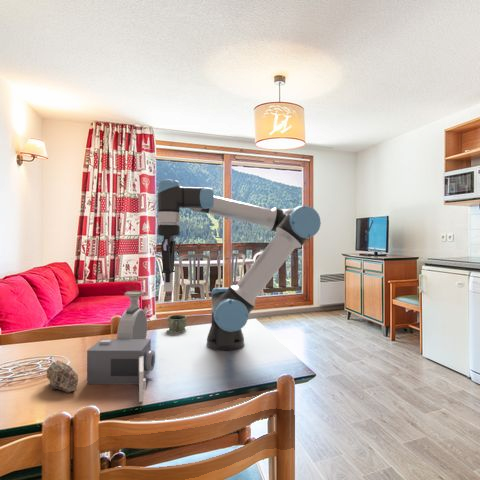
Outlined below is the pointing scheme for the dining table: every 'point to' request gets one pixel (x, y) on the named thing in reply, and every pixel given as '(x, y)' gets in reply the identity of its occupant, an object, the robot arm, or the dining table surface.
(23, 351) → the dining table surface
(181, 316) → the vessel
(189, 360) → the dining table surface
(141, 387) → the door
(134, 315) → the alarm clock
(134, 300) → the candle holder
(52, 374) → the rock
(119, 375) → the camera body
